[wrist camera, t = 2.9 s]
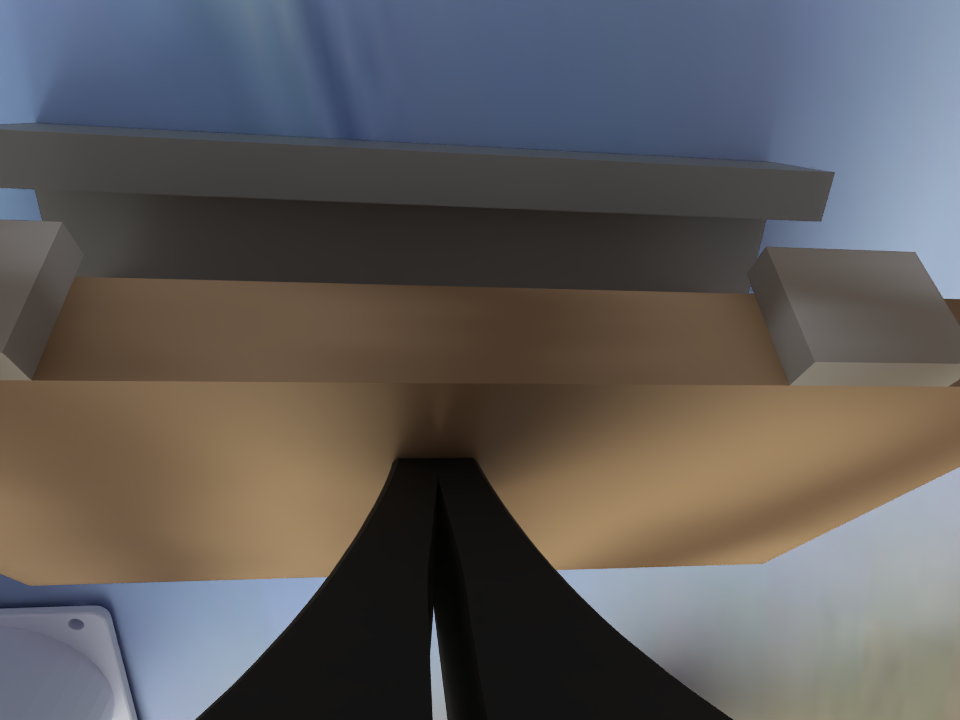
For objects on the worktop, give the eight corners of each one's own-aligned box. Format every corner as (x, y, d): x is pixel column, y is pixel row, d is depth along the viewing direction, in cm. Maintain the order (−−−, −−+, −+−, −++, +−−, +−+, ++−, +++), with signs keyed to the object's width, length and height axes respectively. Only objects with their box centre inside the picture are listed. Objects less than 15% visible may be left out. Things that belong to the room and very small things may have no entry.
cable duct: (109, 457, 19) (57, 516, 16) (33, 122, 15) (-52, 127, 12) (699, 453, 21) (742, 504, 18) (768, 161, 17) (834, 172, 15)
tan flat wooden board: (56, 509, 16) (29, 585, 15) (-412, 204, 7) (-565, 344, 6) (743, 497, 18) (762, 563, 17) (1077, 257, 9) (1164, 366, 8)
